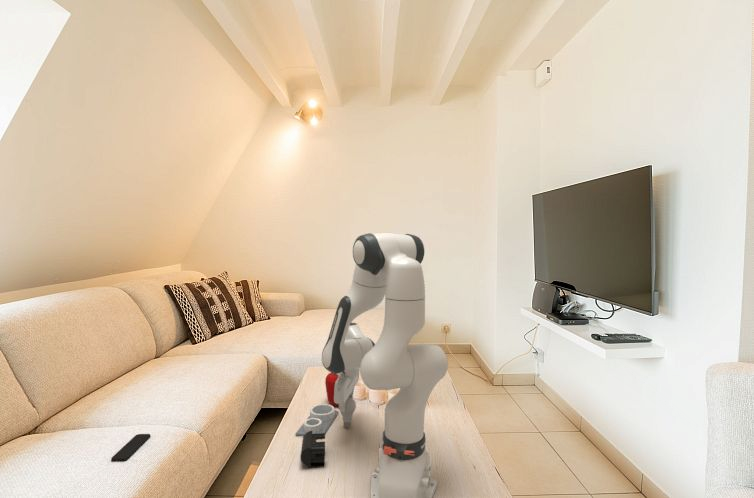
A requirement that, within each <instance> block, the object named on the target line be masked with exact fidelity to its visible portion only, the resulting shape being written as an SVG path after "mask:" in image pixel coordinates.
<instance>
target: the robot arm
mask: <svg viewBox="0 0 754 498" xmlns="http://www.w3.org/2000/svg"><path fill="white" fill-rule="evenodd" d="M424 245H425V244H424V243H423V240H422V239H421V238H420V237H419V236H417V235H415V234H410V233H395V232H394V233H392V232H378V233H377V232H376V233H370V232H369V233H364V234H362V235H359V236H358V237H357V238H356V239H355V240H354V243H353V246H352V257H353V261H354V263H355V266H354V270H353V275H352V282H351V285H350V287H349V289H348V291H347V293H345V295H344V296H343V297H341V298H340V300H339V302H338V305H337V308H336V311H335V315H334V318H333V321H332V324H331V327H330V331H329V334H328V338H327V341H326V343H325V345H324V347H323V349H322V353H321V363H322V366H323V368H324V369H325V370H326V371H328V372H329V373H333V374H337V375H338V377H339V378H338V379H337V380H336V382H335V388H334V402H335V403H336V404H339V406H340V410H339V412H340V411H341V412H345V410H346V405H345V402H346V400H347V398H348V397H350V398H352V399H353V398H354V390H355V387H356V386H357V384H358V383H359V380H360V379H359V378H361V380H362V382H363V384H364V385H365V386H366V387H367V388H368V389H370V390H374V391H375V390H377V391H378V390H379V391H390V390H396V389H399V390H398V391H397V393H396V394H395V395H393V396H392V397H391V398H390V399H389V400H388V401H387V403H386V404H385V408H384V430H383V432H382V439H381V440H382V441H381V442H382V443H381V444H382V445H381V447H380V448H378V467H376V468H375V470H374V471H373V472H372V473H371V475H370V486H369V487H370V490H369V494H370V495H369V498H433V497H434V494H435V492H436V491H437V488H438V482H437V480H436V479H434V478H432V477H431V476H432V475H431V474H432V473H431V454H430V453H429V452H428V451H427V449H426V443H427V442H426V441H427V440H426V433H425V431H424V430H425V417H426V416H425V413H426V407H427V405H428V404H427V403H428V401H429V398H430V396H431V394H432V392H433V390H434V388H435V387H436V386H437V384H438V383H439V382H440V381H441V380H442V379H443V378H444V377H445V376H446V374H447V373H448V368H449V361H448V357H447V355H446V353H445V350H443V348H442V347H441V346H439V345H436V344H430V343H419V344H410V342H411V339H413V337H414V336H415V335H417V334H418V333H420V331H422V330H423V328H424V326H425V324H426V323H425V322H426V289H425V288H426V286H425V285H426V284H425V278H424V277H425V275H424V271H423V267H422V265H421V264H422V262H423V261H424V257H425V246H424ZM384 298H385V299H384ZM383 300H384V301H385V302H384V306H385V307H384V319H383V322H384V323H383V327H382V330H381V333H380V335H379V338H378V339H377V341H376V343H375V342H374V341H373V340H372V339H371V338H369V337H368V336H367V337H366V336H365V335H364V334H363V332H362V331H361V329H360V326H359V323H356V322H353V321H354V320H355V319H356V318H357V317H359V316H361V315H362V314H364V313H366V312H368V311H371V310H373V309H375V308H376V307H377V306H379V305H380V304H381V303H382V302H383ZM409 344H410V345H409ZM353 400H354V399H353ZM339 406H338V407H339ZM341 412H340V413H341Z"/></svg>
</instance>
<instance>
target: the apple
mask: <svg viewBox="0 0 754 498" xmlns="http://www.w3.org/2000/svg"><path fill="white" fill-rule="evenodd" d="M338 378H339V377H338V375H337V374H333V373H331V372H329V373H328V374H327V375H326V377H325V382H324V383H325V391H326V392H325V393H326V398H327V402H329V404H330V405H332V406H333V407H339V404H336V403H335V402H334V388H335V382H336V380H337V379H338Z"/></svg>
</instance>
